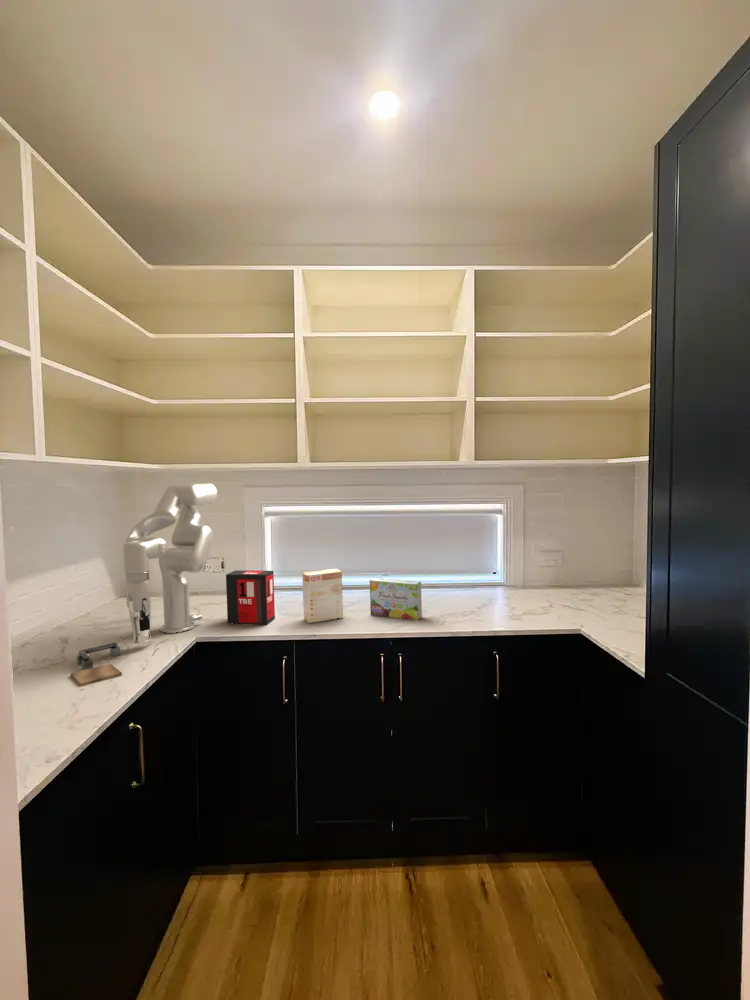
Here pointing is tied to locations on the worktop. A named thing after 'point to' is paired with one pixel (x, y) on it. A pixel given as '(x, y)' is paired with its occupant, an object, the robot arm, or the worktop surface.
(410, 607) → the snack box
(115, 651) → the grey metal bent rod
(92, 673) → the walnut board
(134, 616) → the beer glass
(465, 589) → the worktop surface
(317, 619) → the coffeecake box
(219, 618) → the worktop surface
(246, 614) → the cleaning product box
